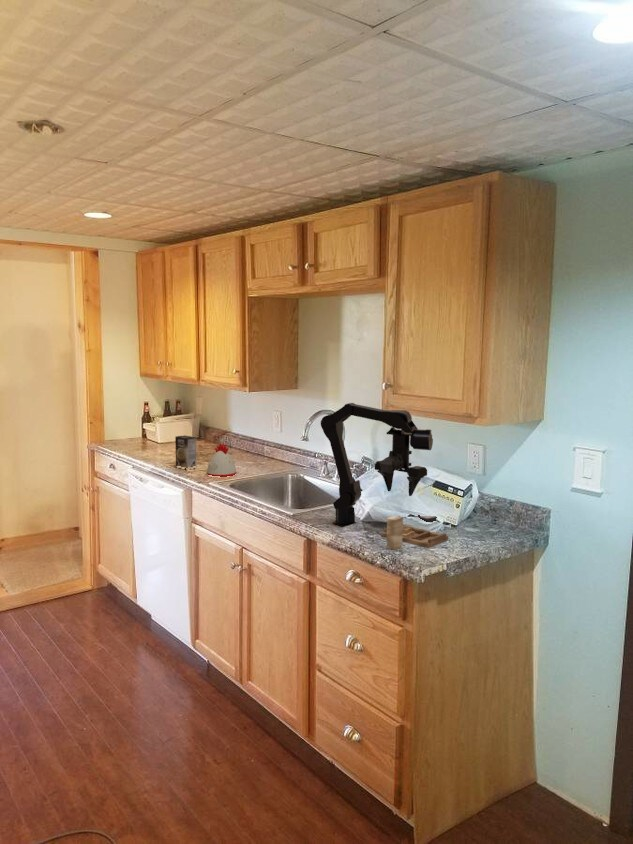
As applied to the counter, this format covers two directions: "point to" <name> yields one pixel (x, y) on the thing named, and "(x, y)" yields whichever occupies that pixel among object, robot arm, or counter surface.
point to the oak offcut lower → (409, 534)
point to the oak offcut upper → (406, 529)
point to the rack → (422, 538)
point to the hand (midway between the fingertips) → (399, 493)
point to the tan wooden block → (394, 532)
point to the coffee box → (185, 451)
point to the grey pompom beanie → (221, 463)
